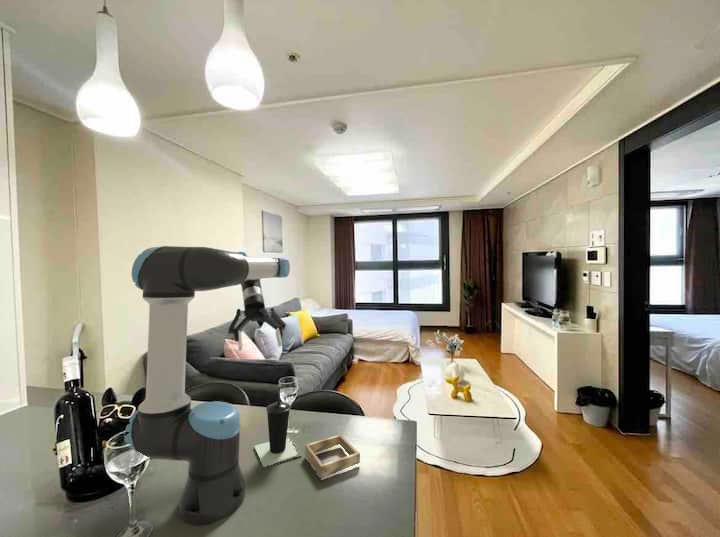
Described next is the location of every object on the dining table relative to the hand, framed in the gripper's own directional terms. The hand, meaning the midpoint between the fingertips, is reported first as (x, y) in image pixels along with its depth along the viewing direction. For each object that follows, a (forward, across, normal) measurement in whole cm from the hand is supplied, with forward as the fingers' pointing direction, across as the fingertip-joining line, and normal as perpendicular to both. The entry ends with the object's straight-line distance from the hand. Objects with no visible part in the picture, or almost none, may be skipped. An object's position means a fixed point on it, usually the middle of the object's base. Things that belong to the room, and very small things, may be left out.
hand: (261, 346), depth 108 cm
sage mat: (+30, -4, -15) cm, 34 cm away
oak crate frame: (+40, -17, -6) cm, 44 cm away
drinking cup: (+30, -4, -14) cm, 33 cm away
